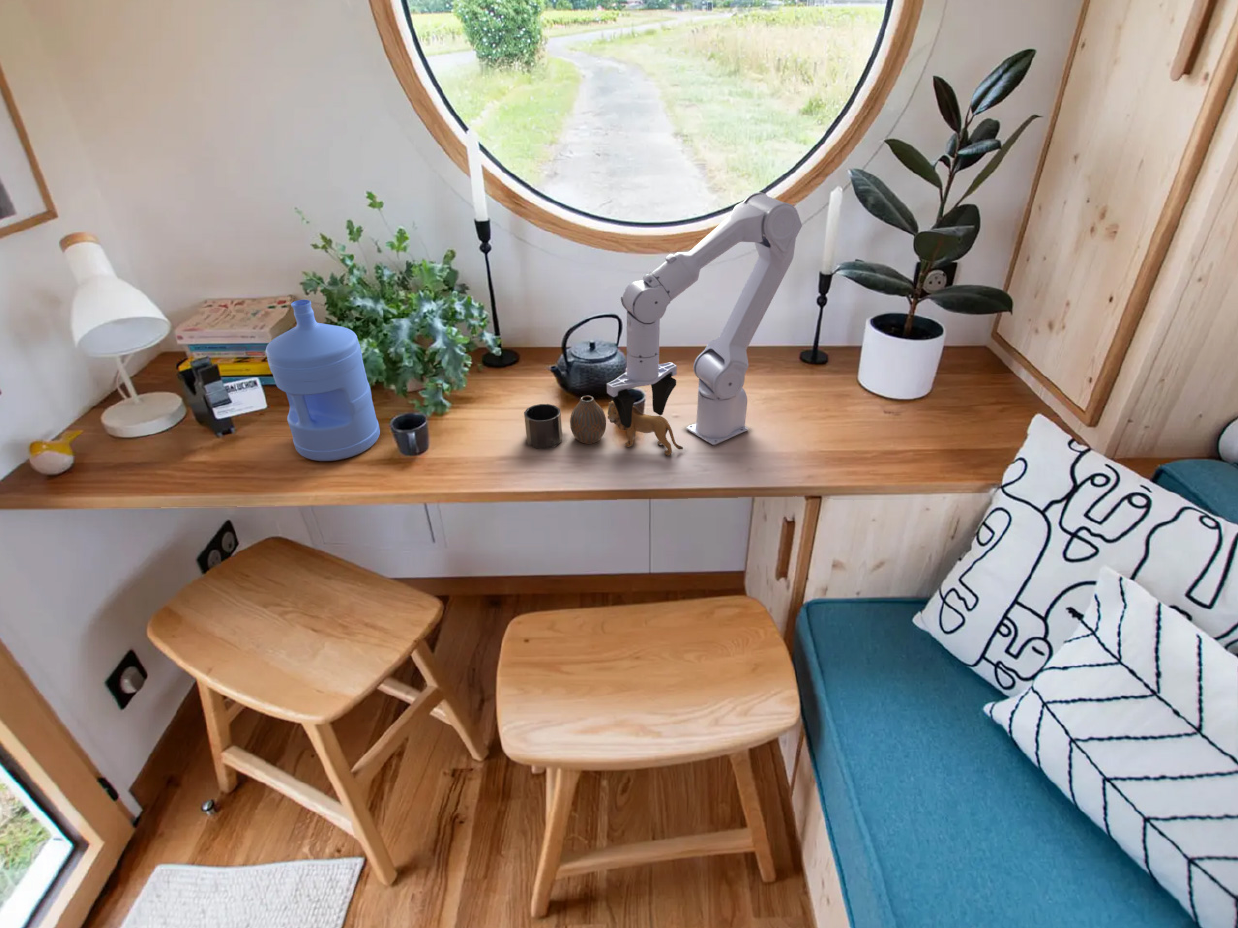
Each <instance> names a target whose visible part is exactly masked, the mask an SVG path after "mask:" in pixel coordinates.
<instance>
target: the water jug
mask: <svg viewBox="0 0 1238 928" xmlns="http://www.w3.org/2000/svg"><path fill="white" fill-rule="evenodd" d="M290 306H291V307H292V309H293V316H294V317H295V322H296V326H294V327H292V328H290V329H288V330H286V331H285V332H283V333H281V334H279V335H278V336H276V337H274V338H272V339H271V340H270V341H269V343H268V344H267V345H266V348H265V354H266V359H267V364H268V367H269V371H270V372H271V374H272V376H273V380H274V383H275V386H276V387H277V388H278V389H279V390H280V391H282V392H284V393H285V394H286V397H287V401H288V404H289V411H288V414H287V417H286V419H287V423H288V427H289V429H290V432H291V437H292V442H293V445H294V448H295V451H296V452H297V453H298V454H299V455H300V456H302V457H303V458H305V459H308V460H311V461H318V462H333V461H340V460H345V459H349V458H352V457H355V456H358V455H360V454H362V453H364V452H365V451H367V450H369V449H370V448H371V447H373V446H374V445H375V444H376V442H377V441H378V440H379V438H380V434H381V428H380V423H379V421H378V419H377V415H376V411H375V407H374V406H375V405H374V402H373V398H372V397H373V396H372V390H371V386H370V383H369V381H368V377H367V372H366V369H365V365H364V359H363V352H362V348H361V344H360V342H359V340H358V336H357V334H356V333H355V331H353V330H352V329H350V328H348V327H344V326H340V325H335V324H327V323H321V322H318V321H316V318H315V312H314V309H313V308H312V301H311V300H310V299H298V300H294V301H292V302H291V304H290Z"/></svg>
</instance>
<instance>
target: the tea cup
mask: <svg viewBox="0 0 1238 928" xmlns="http://www.w3.org/2000/svg"><path fill="white" fill-rule="evenodd" d="M561 415H562V414H561V408H560V407H558V406H556V405H554V404H550V403H538V404H534V405H531V406H529V407H527V408H526V409H525V410H524V411H523V416H524V417H523V418H524V427H525V437H526V442H527V444H528V445H529V446H530V447H532V448H535V449H538V450H539V449H542V450H545V449H552V448H554V447H557V446H558V445H560V444H561V443H562V441H563V428H562V416H561Z"/></svg>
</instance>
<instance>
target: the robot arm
mask: <svg viewBox="0 0 1238 928" xmlns="http://www.w3.org/2000/svg"><path fill="white" fill-rule="evenodd" d="M802 228H803V224H802V221H801V217H800V216H799V212H798V210H797V208H796V207H795V205H793V204H791V203H790V202H789V203H788V202H785V201H784V202H783V201H781V200H778V199H776V198H774V197H772V196H769V195H767V194H766V193H763V192H758V191H757V192H754V193H751V194H749V195H748V196H747V197H746V198H745V199H744V200H743V201H741V202H739V203H737V204H736V205H735V206H734V208H733V209H732V211H731V213H730V214H729V215H728V216H727V217H726V218H725V219H724V220H722V222H721V223H719V224H718V225H717V226H716V227H715V228H714V229H713V230H712V231H710V232H709V233H708V234H707V235H706V236H705V237H704V238H703V239H702V240H700V241H699V242H698V243H697V244H696V245H695V246H693V247H692V249H690V250H689V251H688V252H681V251H677V252H675V254H672V253H669V254H668V255H667V256H666V257H665V258H664V259H665V261H664V262H663V263H662V264H661V265H659V266H658V267H656V268H655V269H654V270H653V271H652V272H650V273H649V274H648V273H646V274H645V275H644V276H642V279H639V280H634V281H632V282H630V283H629V284H628V285H627V286H626V287H625V289H624V290H625V291H624V292H623V294H622V296H621V297H620V302H621V305H622V307H623V309H625V310H626V327H625V328H626V367H625V372H624V373H622V374H621V375H619V376H618V377H617V378H615V379H614V380H611V381H610V382H607V383H606V394H608V395H609V397H610V399H611V401H613V402H614V404H615V406H616V408H617V411H618V414H619V417H620V421H621V424H622V425H623V426H625V427H626V428H629V427H631V422H632V408H633V406H634V404H635V401H636V397H635V396H632V395H631V392H629V391H630V390H632V389H635V388H639V387H647V386H650V388H651V395H652V397H651V398H652V404H651V405H652V411H653V413H655V414H656V415H657V416H662V415H664V411H665V408H666V405H667V402H668V399H669V397H670V395H671V393H672V392H673V390H674V389H675V388H676V386H677V379H676V378H674V376H677V370H678V369H677V368H678V366H677V364H675V363H673V362H671V361H669V362H664V363H660V332H661V327H660V326H661V325H660V324H661V323H660V321H661V320H662V318H663V317H664V316H665V313H666V312H667V308H668V306H669V305H670V304H671V301H674V300H675V299H676V298H677V297H678V296H680V295H681V294H682V293H684V291H686V290H687V289H688V288H690V287H691V286H692V285H693V284H696V282H697V281H698V280H699V277H700V272H701V270H702V269H703V268H704V267H706V266H707V265H708V264H711V263H712V262H713V261H715V260H716V259H718V258H719V257H720V256H721V255H723V254H725V253H726V252H727V251H729V250H731V249H732V248H733V247H735V245H737V244H739V243H754V246H755V248H756V251H757V254H758V258H757V260H756V262H755V264H754V266H753V268H752V269H751V272H750V274H749V276H748V278H747V280H746V282H745V284H744V286H743V288H742V290H741V292H740V294H739V296H738V298H737V301H736V303H735V304H734V306H733V309H732V311H731V312H730V314H729V316H728V318H727V321H726V322H725V325H724V327H723V329H722V331H721V333H720V335H719V336H718V337H716V338H714V339H711V340H710V341H708V343H707V345H706V347H705V348H704V349H703V350H702V352H700V353H699V354H698V355H697V356H696V358H695V359H694V361H693V367H692V368H693V373H694V375H695V377H696V378H698V387H697V401H696V402H697V403H696V404H697V405H696V418H695V419H696V421H695V423H693V424H690V425H687V426H686V430H687V431H689V432H691V433H692V434H694V435H695V436H696V437H698V438H700V439H702V440H704V441H705V442H707V443H709V444H710V445H713V446H717V445H718V444H720V443H722V442H724V441H727V440H729V439H731V438H733V437H736V436H738V435H741V434H743V433H745V432H747V431H748V430H749V427H747V426H746V419H747V410H748V396H747V392H746V391H745V388H743V387H744V385H745V377H746V373H747V370H748V369H749V366H750V364H749V357H748V352H747V349H748V348H749V345H750V344H751V342H752V340H753V338H754V336H755V334H756V332H757V330H758V328H759V326H760V324H761V323H762V320H763V318H764V316H765V314H766V313H767V310H768V309H769V306H770V305H771V303H772V301H773V299H774V297H775V295H776V293H777V292H778V289H779V287H780V285H781V283H782V281H783V279H784V278H785V276H786V274H787V272H788V270H789V268H790V266H791V264H792V262H793V259H794V255H795V249H796V241H797V240H796V239H797V237H798V235H799V233H800V231H801V229H802Z"/></svg>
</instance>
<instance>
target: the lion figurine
mask: <svg viewBox="0 0 1238 928" xmlns="http://www.w3.org/2000/svg"><path fill="white" fill-rule="evenodd" d="M607 419H608V420H609V422H610V424H614V425H616V426H618V428H619V429H620V430H624V431H626V436H627V439H628V441H626V442H625V443H624V445H625V446H626V447H627V448H628V447H629V448H630V447H632V446H633V445H634V439H635V437H636V432H639V433H642V434H651V433H654V436H655V437H656V439H657V443H656V444H657V445H659V446H664V447H665V448H666V450H664V455H665V456H670V455H671V454H672V452H673V447H672V445H673V446H674V447H675V448H676V449H677V450H680V451H681V450H683V449H684V447H683V446H681V445H679V444H677V443H676V440H675V437H674V433H673V429H672V427H671V425H670V423H669V421H668V420H667V419H666V418H665V417H664V416H662V415H650V414H645V413H643V412H641V411H640V409H638V407H636V406H635V405H633V408H632V422H631V427H629V428H626V427H625V426H623V425H622V424H621V421H620V417H619V414H618V411H617V408H616V406H615V404H614V402H613V400H611V401H610V402H608V407H607ZM667 433H669V437H670V439H671V442H672V444H671V443H670V442H669V440H668V438H667Z"/></svg>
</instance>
